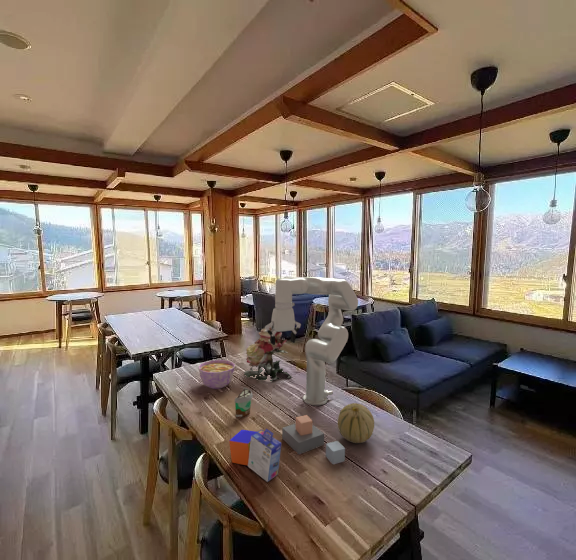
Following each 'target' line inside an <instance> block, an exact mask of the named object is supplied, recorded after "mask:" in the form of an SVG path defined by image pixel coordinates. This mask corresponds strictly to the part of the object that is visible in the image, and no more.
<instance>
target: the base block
mask: <svg viewBox="0 0 576 560" xmlns="http://www.w3.org/2000/svg"><path fill="white" fill-rule="evenodd" d="M281 429H282V433H281V434H282V437H281V438H282V440H283V441H284V442H286V444H287V445H288V446H289V447H290V448H291V449H292V450H293V451H295V453H297V455H302V454H304V453H306V452H309V451H311V450H314V449H317V448H320V447H321V446H324V445H325V433H324V432H323V431H321V430H320V429H319V428H318V427H316V426H315V425H314V424H313V426H312V433H310V434H306V435H302V436H301V435H300V434H299V433H298V432H297V430H296V422H295V423H293V424H289V425H287V426H284V427H282V428H281Z"/></svg>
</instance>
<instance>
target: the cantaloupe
mask: <svg viewBox="0 0 576 560" xmlns="http://www.w3.org/2000/svg"><path fill="white" fill-rule="evenodd" d="M336 424H337V429H338V432H339V433H340V434H341V436H342V437H343V438H344V439H345V440H346V441H348V442H350V443H353V444H361V443H365V442H367V441H368V440H369V439H370V438H371V437H372V435H373V434H374V429H375V418H374V416H373V414H372V412H371V411H370V410H369V409H368V407H366V406H365V405H363V404H361V403H356V402H352V403H348V404H346V405H345V406H343V408H342V409H341V410H340V412H339V413H338V418H337V423H336Z"/></svg>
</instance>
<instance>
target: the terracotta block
mask: <svg viewBox="0 0 576 560" xmlns="http://www.w3.org/2000/svg"><path fill="white" fill-rule="evenodd" d="M295 423H296V430H297V432H298V433H299V434H300V435H301V436H302V435H306V434H310V433H312V426H313V425H314V424H313V419H311V418H310V416H308V414H305V415H301V416H296V417H295Z"/></svg>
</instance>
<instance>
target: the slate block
mask: <svg viewBox="0 0 576 560" xmlns="http://www.w3.org/2000/svg"><path fill="white" fill-rule="evenodd" d="M345 456H346V448H345V447H344V446H343V445H342V443H340V442H339V440H335V441H331V442H327V443H325V457H326V459H327V460H328V461H329V462H330V463H331V464H332V465H336V464H339V463H344V462H345Z"/></svg>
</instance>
